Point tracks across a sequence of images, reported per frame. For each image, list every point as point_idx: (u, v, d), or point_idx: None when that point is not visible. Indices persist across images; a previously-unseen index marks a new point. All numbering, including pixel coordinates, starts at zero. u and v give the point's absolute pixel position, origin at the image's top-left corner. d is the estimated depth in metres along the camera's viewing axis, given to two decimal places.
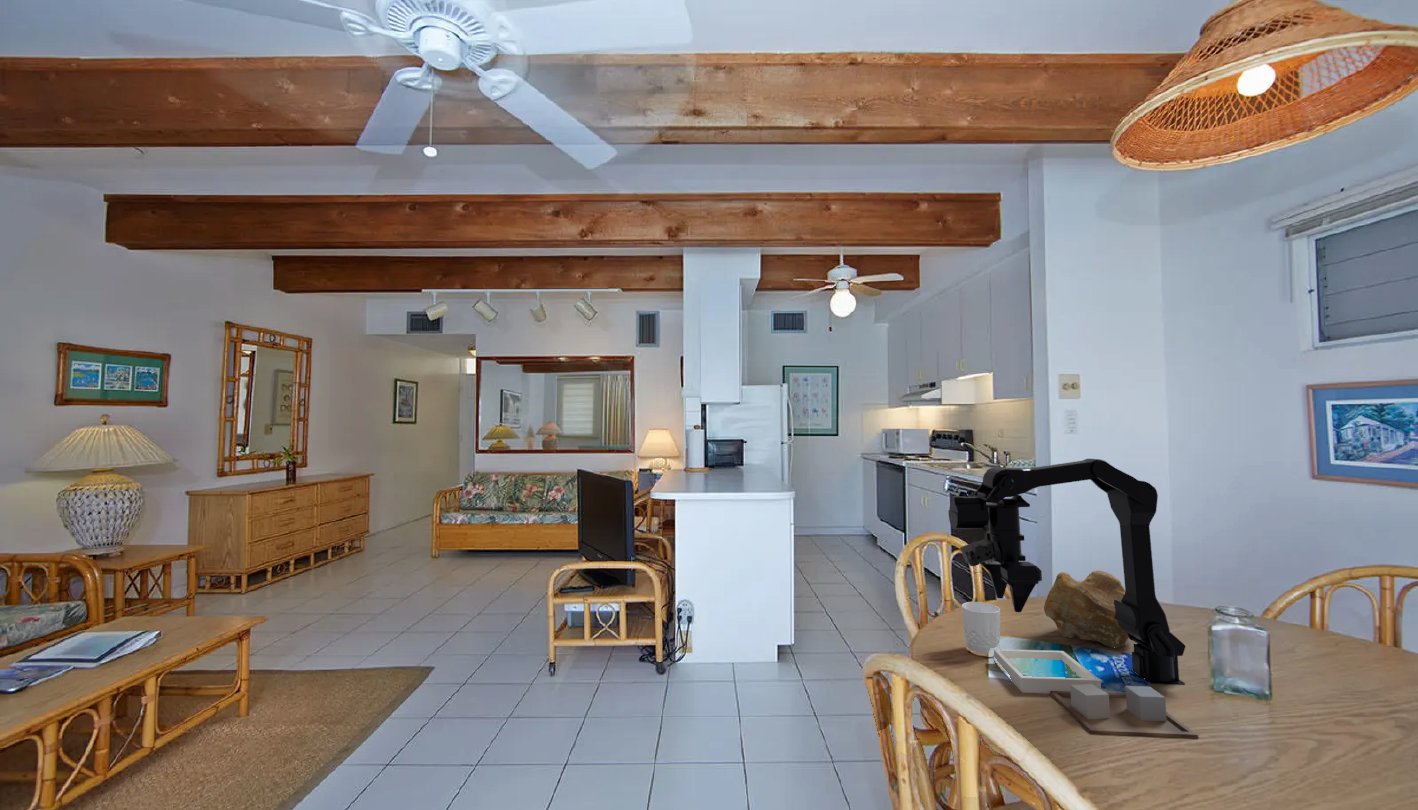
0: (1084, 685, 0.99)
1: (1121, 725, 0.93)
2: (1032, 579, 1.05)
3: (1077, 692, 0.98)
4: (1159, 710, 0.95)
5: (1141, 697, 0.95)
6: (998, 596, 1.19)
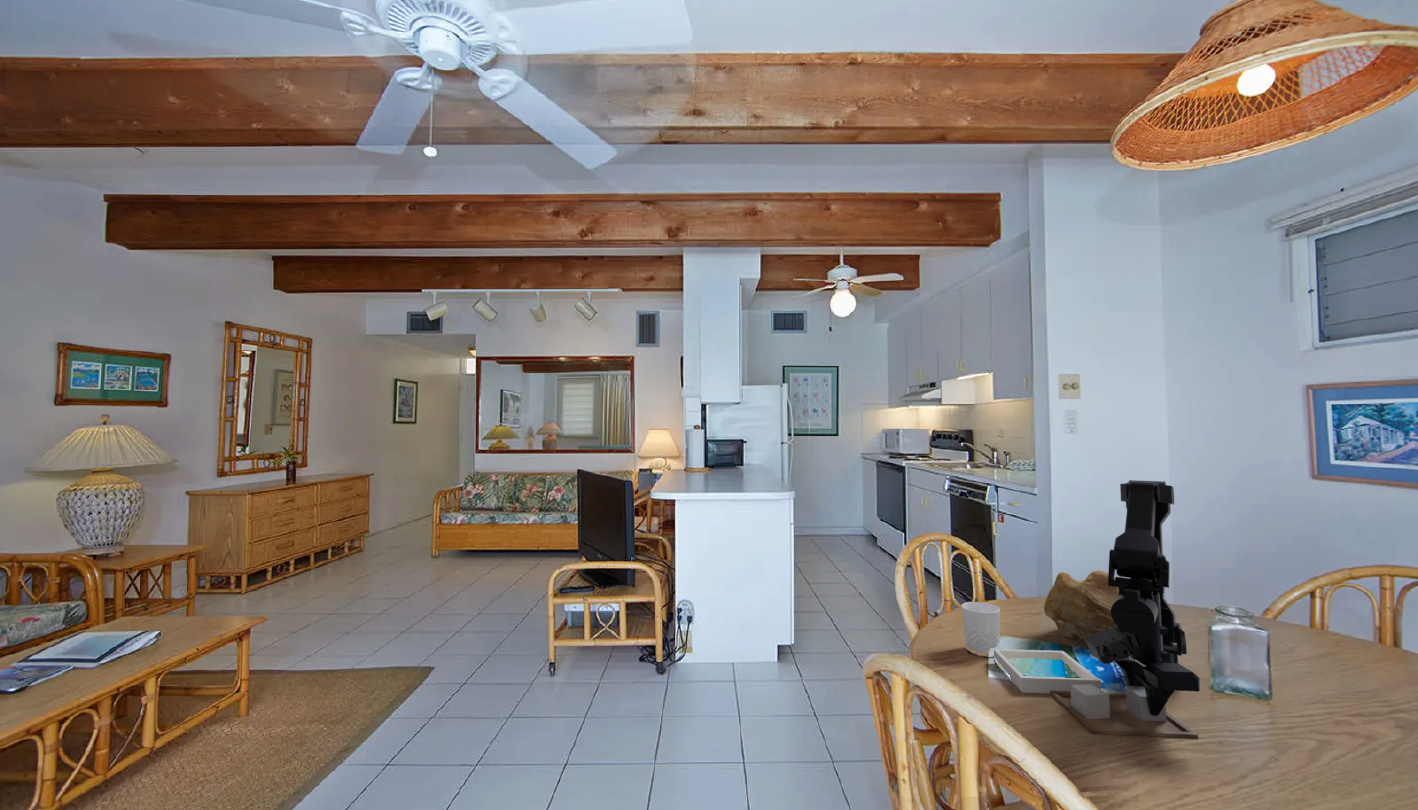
0: (1084, 685, 0.99)
1: (1121, 725, 0.93)
2: (1189, 689, 0.88)
3: (1077, 692, 0.98)
4: None
5: (1141, 697, 0.95)
6: None
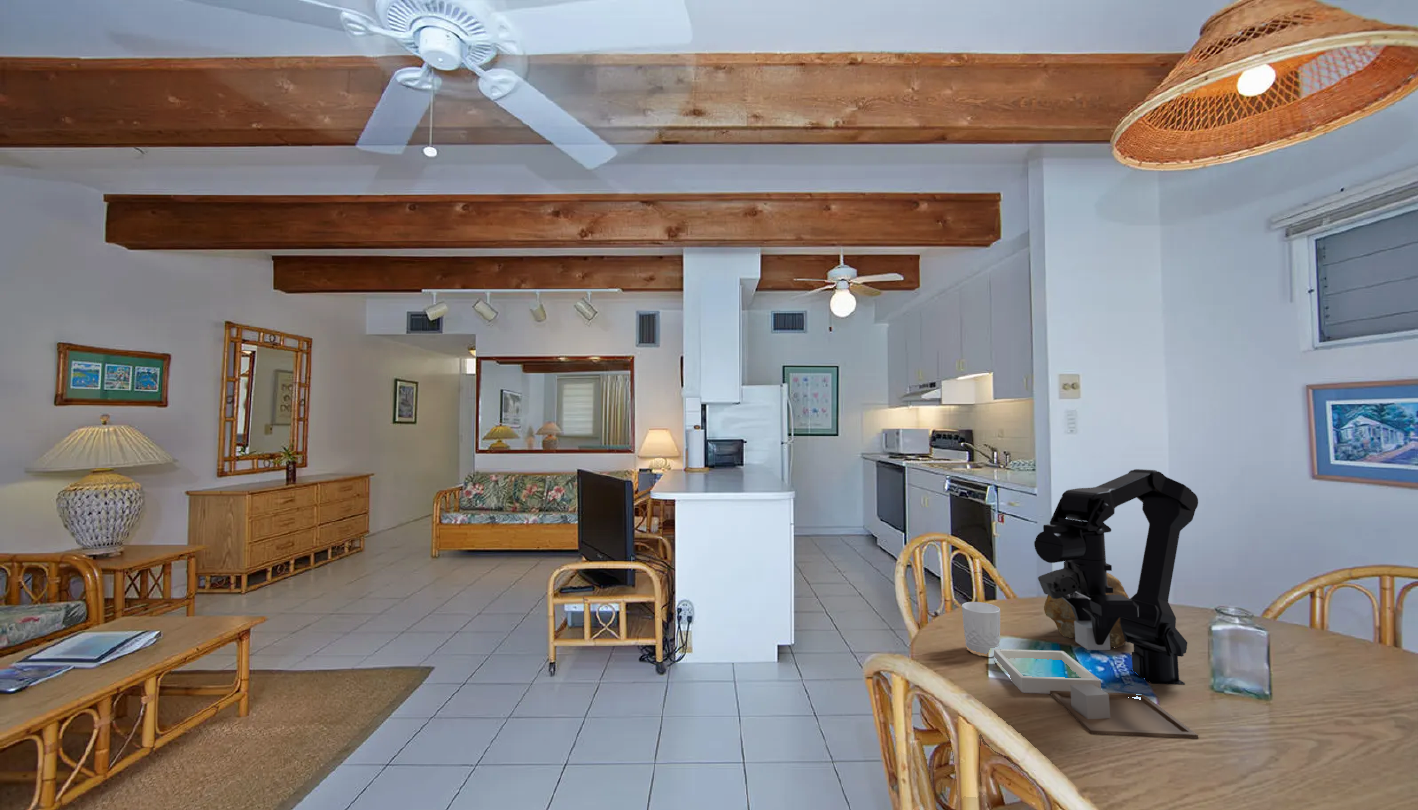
0: (1084, 685, 0.99)
1: (1121, 725, 0.93)
2: (1129, 615, 0.96)
3: (1077, 692, 0.98)
4: None
5: (1087, 629, 1.03)
6: None
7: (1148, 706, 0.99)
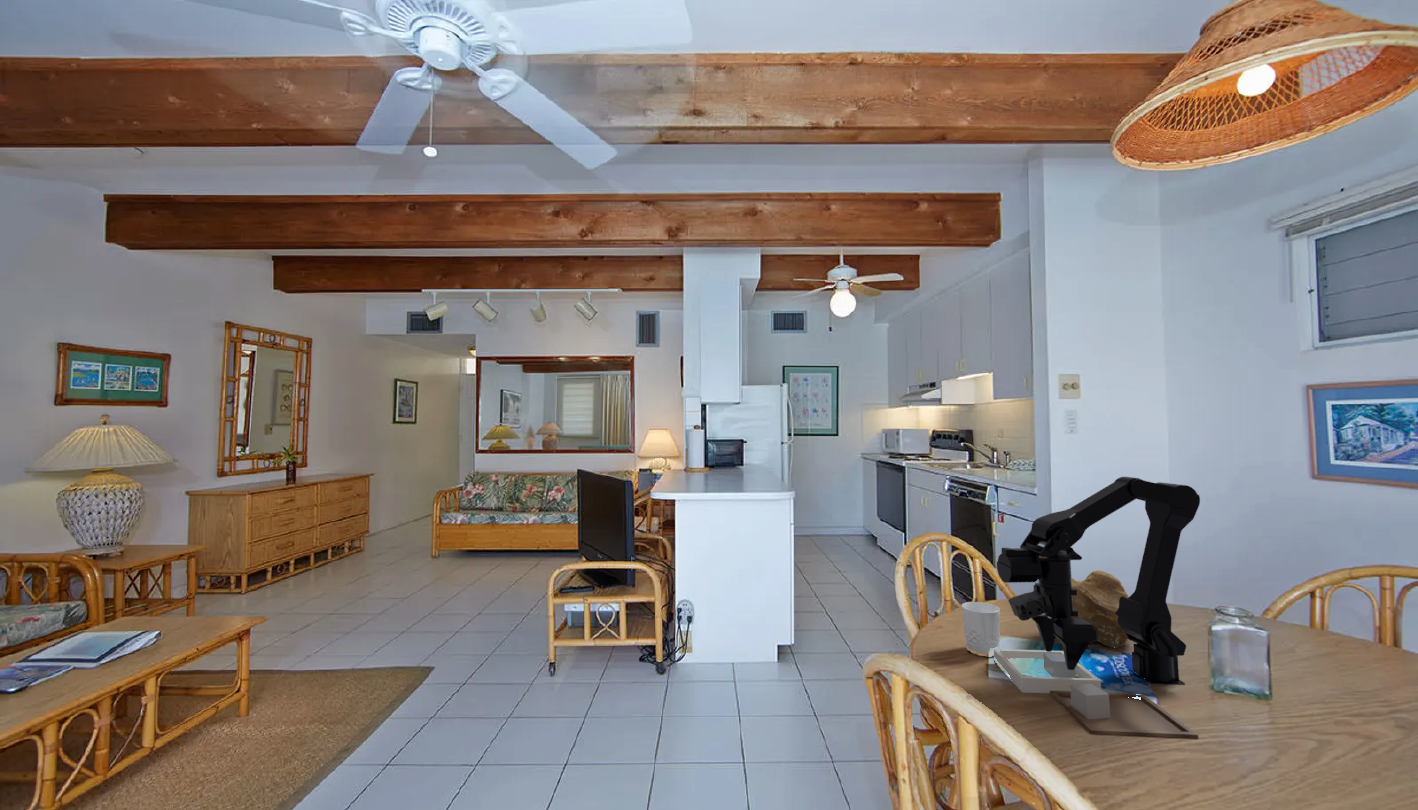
0: (1084, 685, 0.99)
1: (1121, 725, 0.93)
2: (1088, 638, 1.03)
3: (1077, 692, 0.98)
4: (1069, 673, 1.09)
5: (1053, 662, 1.10)
6: (1047, 649, 1.16)
7: (1148, 706, 0.99)
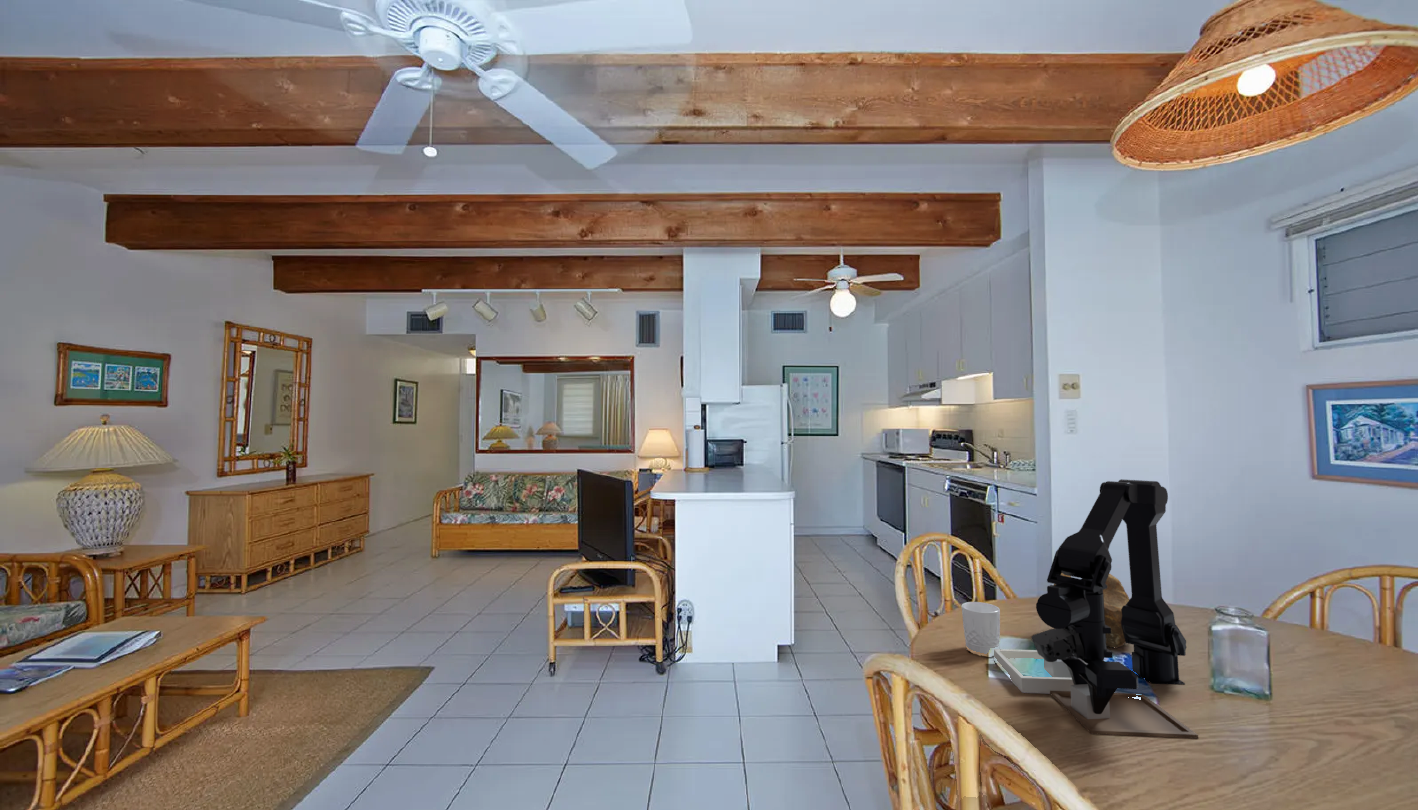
0: (1084, 685, 0.99)
1: (1121, 725, 0.93)
2: (1127, 687, 0.89)
3: (1077, 692, 0.98)
4: (1069, 673, 1.09)
5: (1053, 662, 1.10)
6: None
7: (1148, 706, 0.99)
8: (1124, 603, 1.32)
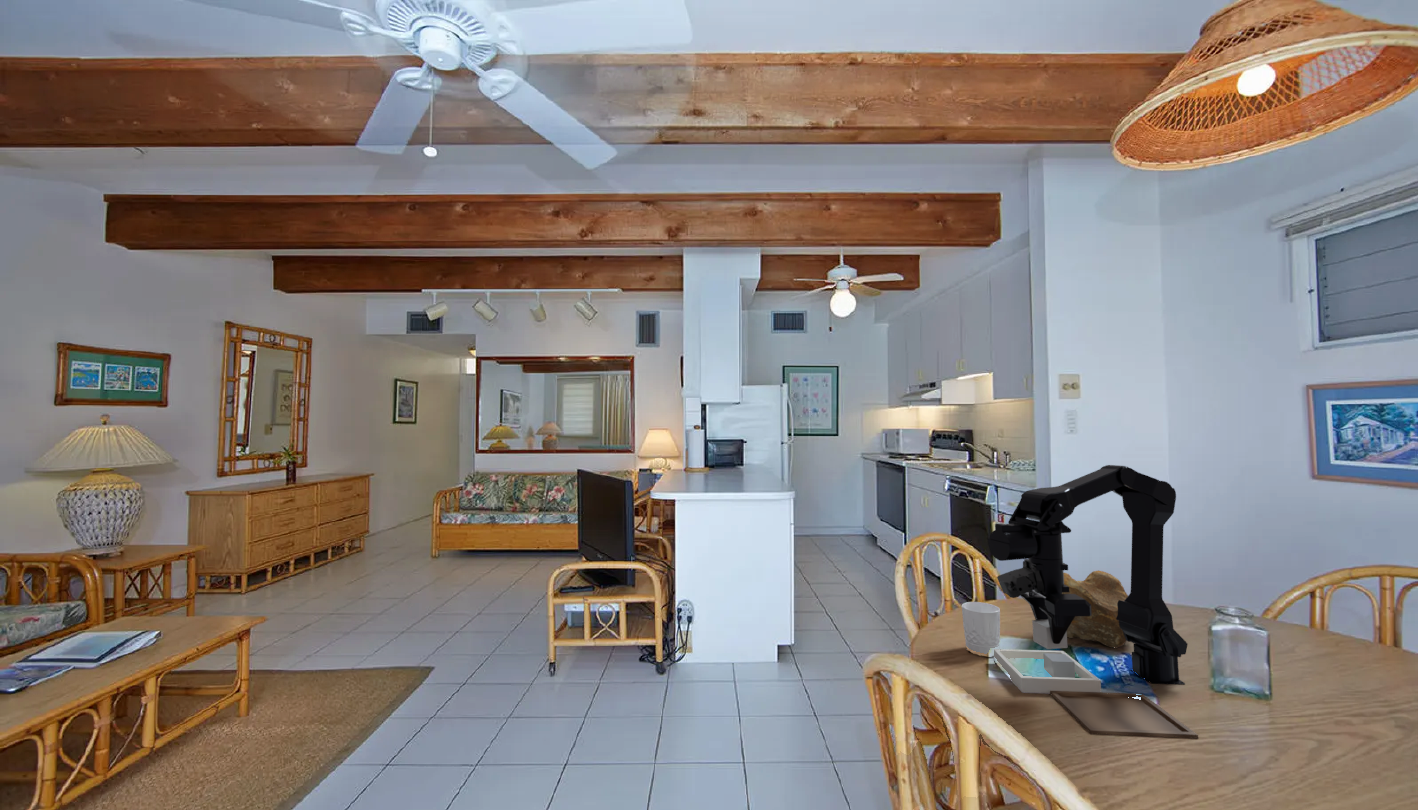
0: (1044, 620, 1.08)
1: (1121, 725, 0.93)
2: (1081, 614, 0.97)
3: (1038, 626, 1.06)
4: (1069, 673, 1.09)
5: (1053, 662, 1.10)
6: None
7: (1148, 706, 0.99)
8: None
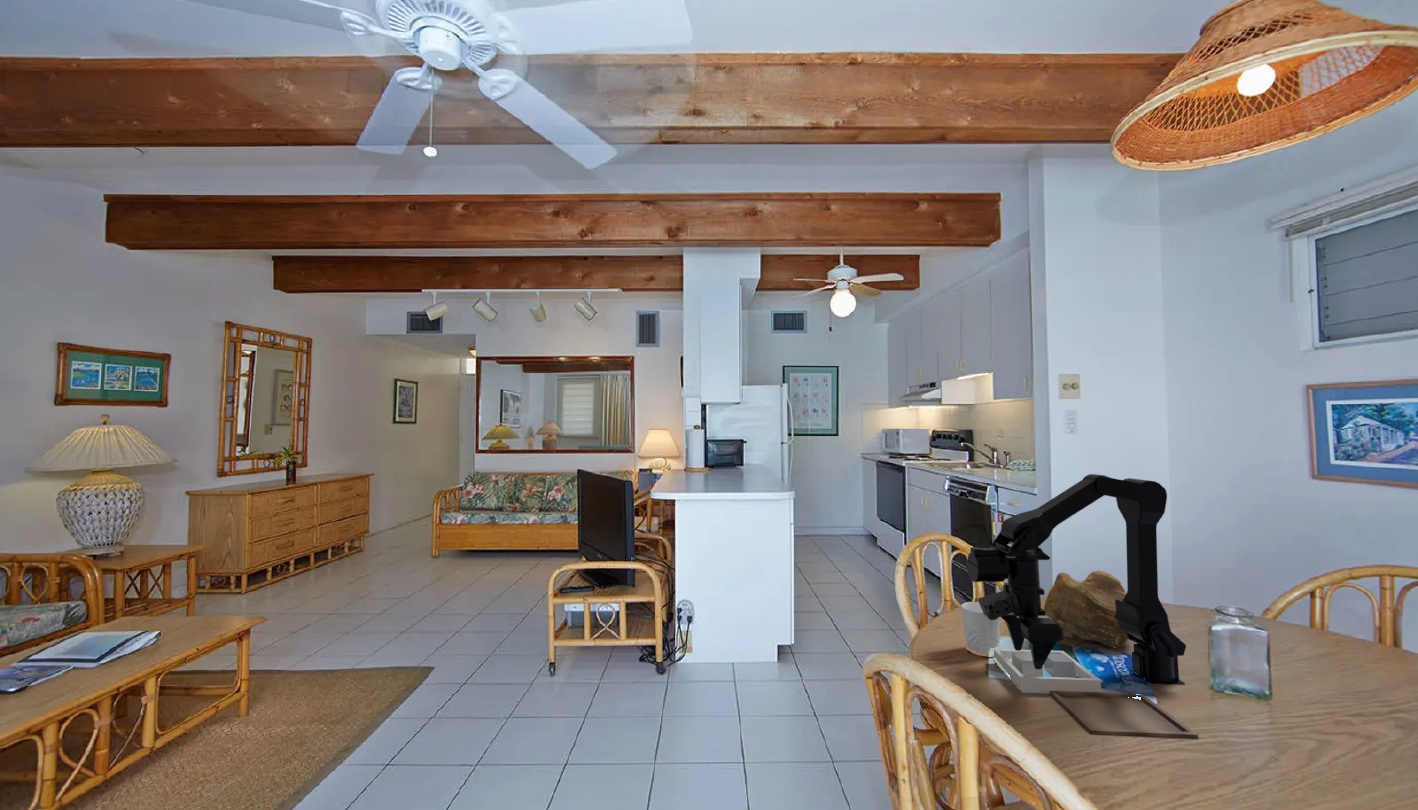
0: (1024, 653, 1.14)
1: (1121, 725, 0.93)
2: (1054, 638, 1.03)
3: (1016, 659, 1.12)
4: (1069, 673, 1.09)
5: (1053, 662, 1.10)
6: (1016, 648, 1.17)
7: (1148, 706, 0.99)
8: None
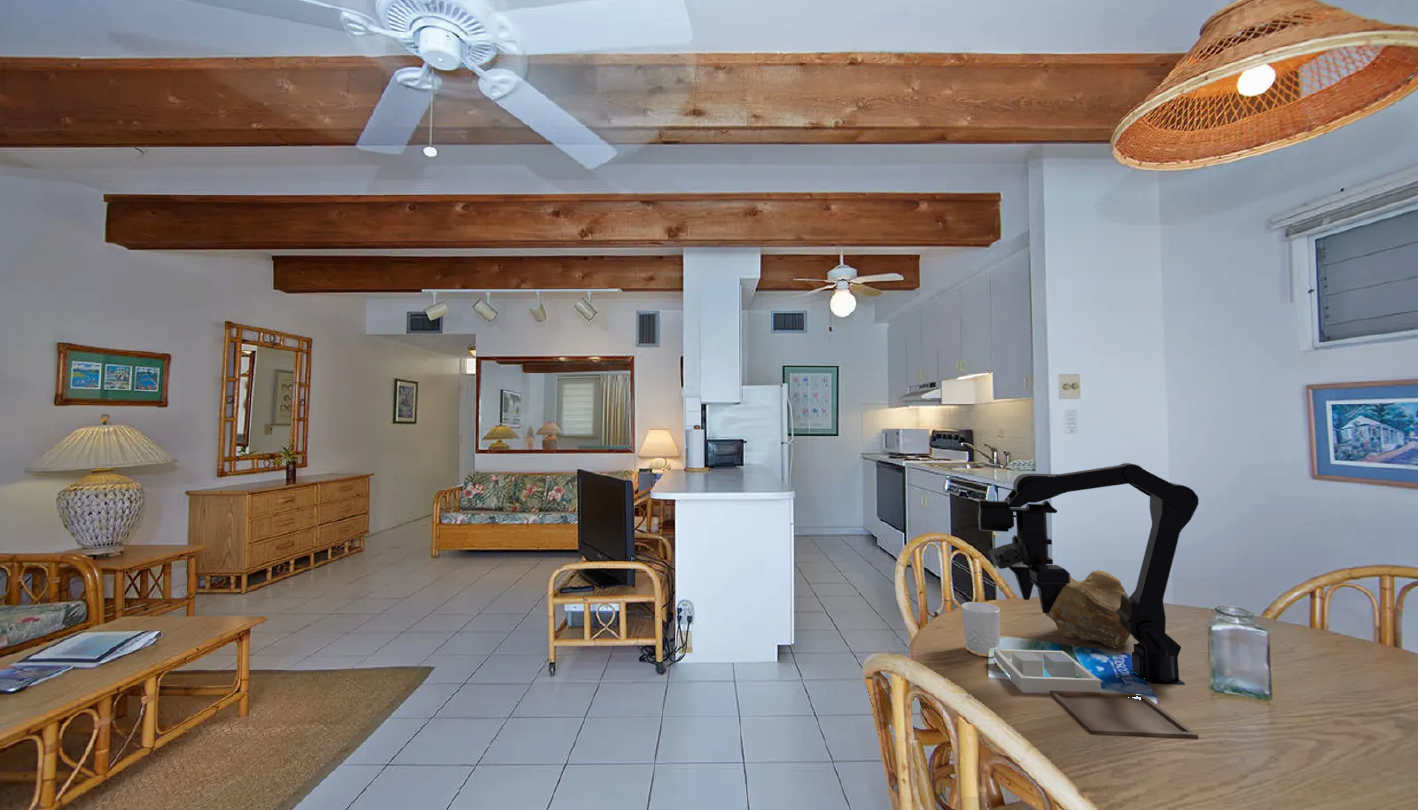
0: (1024, 653, 1.14)
1: (1121, 725, 0.93)
2: (1061, 582, 1.10)
3: (1016, 659, 1.12)
4: (1069, 673, 1.09)
5: (1053, 662, 1.10)
6: (1024, 598, 1.23)
7: (1148, 706, 0.99)
8: None
